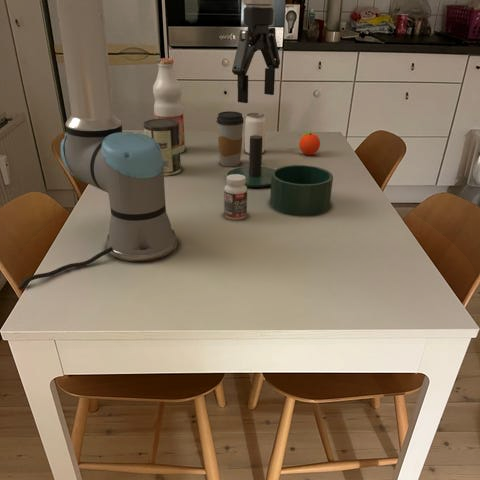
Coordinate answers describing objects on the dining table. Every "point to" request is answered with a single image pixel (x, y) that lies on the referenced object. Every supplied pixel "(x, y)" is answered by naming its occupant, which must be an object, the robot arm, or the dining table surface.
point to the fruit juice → (168, 97)
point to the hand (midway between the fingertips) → (256, 98)
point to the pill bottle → (235, 197)
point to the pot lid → (255, 166)
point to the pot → (301, 190)
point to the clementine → (309, 143)
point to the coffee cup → (230, 137)
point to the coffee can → (166, 142)
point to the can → (254, 129)
